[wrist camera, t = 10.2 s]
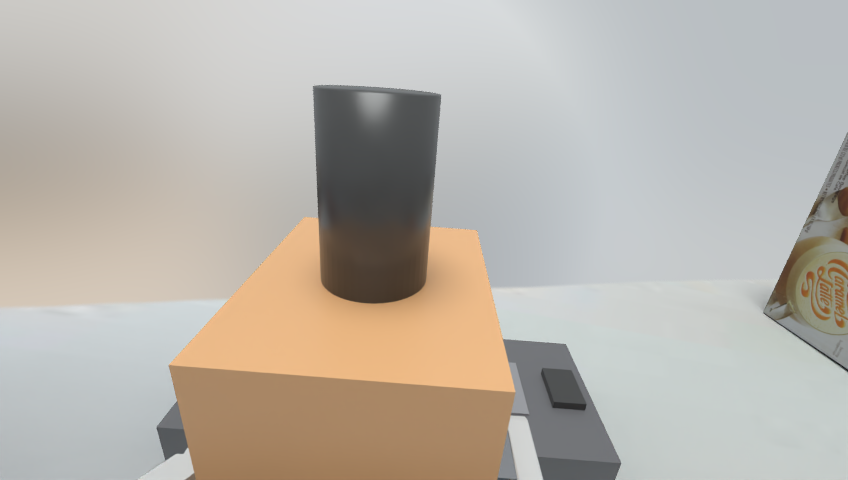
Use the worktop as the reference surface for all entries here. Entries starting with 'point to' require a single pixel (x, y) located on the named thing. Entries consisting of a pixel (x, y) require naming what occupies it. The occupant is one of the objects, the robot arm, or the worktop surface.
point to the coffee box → (819, 271)
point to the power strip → (536, 400)
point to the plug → (356, 324)
